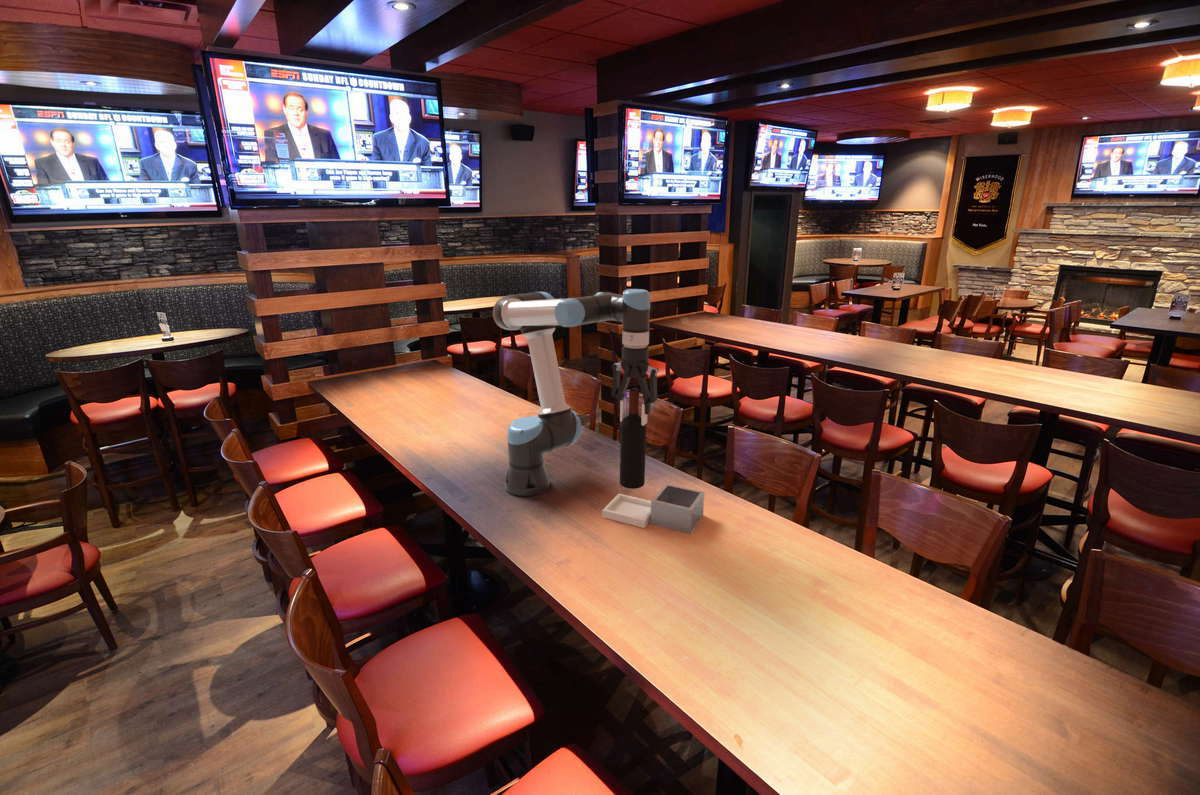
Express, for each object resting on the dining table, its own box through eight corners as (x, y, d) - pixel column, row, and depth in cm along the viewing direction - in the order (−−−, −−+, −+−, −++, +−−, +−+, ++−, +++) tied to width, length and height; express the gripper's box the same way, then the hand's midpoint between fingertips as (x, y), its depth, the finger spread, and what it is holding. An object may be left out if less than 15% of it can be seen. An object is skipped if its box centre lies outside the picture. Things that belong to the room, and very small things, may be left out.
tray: (602, 517, 177) (602, 509, 176) (618, 500, 187) (618, 493, 186) (644, 528, 171) (644, 520, 170) (659, 510, 181) (659, 503, 181)
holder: (650, 524, 173) (651, 500, 171) (664, 506, 184) (665, 483, 181) (690, 534, 168) (691, 510, 165) (702, 515, 179) (704, 492, 176)
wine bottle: (623, 490, 171) (625, 394, 162) (616, 479, 178) (617, 386, 169) (647, 487, 173) (651, 392, 164) (639, 476, 180) (642, 384, 171)
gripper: (599, 344, 163) (598, 420, 170) (662, 351, 155) (659, 431, 162) (610, 339, 169) (609, 413, 177) (671, 346, 161) (668, 423, 169)
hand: (633, 421), depth 169 cm, fingers closed on wine bottle, 6 cm apart
